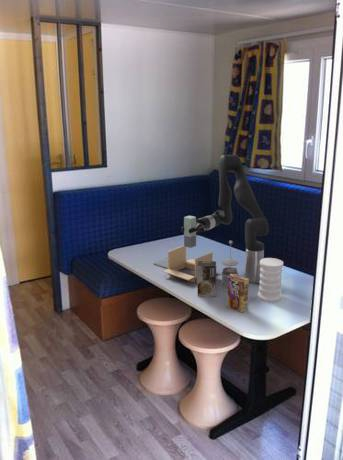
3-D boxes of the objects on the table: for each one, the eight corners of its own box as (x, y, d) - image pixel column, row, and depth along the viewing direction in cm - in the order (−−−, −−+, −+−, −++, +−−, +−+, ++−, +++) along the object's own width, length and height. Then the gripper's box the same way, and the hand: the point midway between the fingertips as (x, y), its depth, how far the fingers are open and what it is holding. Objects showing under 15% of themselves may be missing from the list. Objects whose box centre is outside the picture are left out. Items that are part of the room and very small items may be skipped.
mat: (182, 263, 258) (182, 262, 258) (168, 269, 250) (168, 268, 250) (167, 258, 266) (167, 257, 266) (153, 264, 257) (153, 263, 257)
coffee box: (215, 291, 221) (216, 261, 216) (215, 297, 215) (216, 265, 210) (197, 290, 222) (197, 260, 217) (197, 296, 216) (197, 265, 211)
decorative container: (267, 289, 222) (268, 255, 217) (286, 297, 214) (289, 262, 209) (252, 296, 215) (253, 261, 210) (272, 304, 206) (274, 268, 201)
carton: (217, 272, 245) (218, 249, 241) (189, 286, 227) (189, 262, 224) (190, 264, 257) (190, 242, 253) (162, 276, 240) (161, 253, 236)
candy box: (248, 309, 202) (249, 278, 197) (242, 312, 199) (244, 281, 194) (232, 303, 208) (233, 273, 203) (226, 306, 205) (227, 276, 200)
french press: (233, 282, 231) (234, 236, 224) (244, 291, 221) (246, 243, 213) (216, 285, 228) (217, 239, 220) (227, 294, 217) (228, 246, 210)
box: (196, 245, 238) (196, 216, 233) (190, 247, 235) (190, 218, 230) (189, 244, 241) (189, 215, 236) (184, 246, 237) (183, 217, 233)
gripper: (195, 214, 248) (175, 221, 236) (216, 219, 239) (196, 226, 226) (195, 227, 250) (175, 234, 238) (216, 232, 241) (196, 240, 229)
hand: (185, 230), depth 232 cm, fingers closed on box, 4 cm apart
